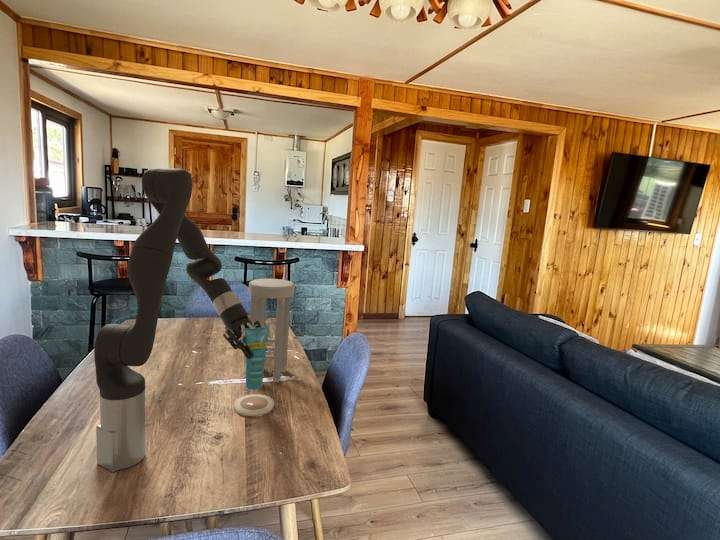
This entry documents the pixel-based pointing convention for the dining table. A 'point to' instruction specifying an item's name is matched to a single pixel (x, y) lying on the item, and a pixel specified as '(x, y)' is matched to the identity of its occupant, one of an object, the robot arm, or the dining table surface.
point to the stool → (283, 293)
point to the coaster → (253, 405)
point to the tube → (256, 356)
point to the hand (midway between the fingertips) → (258, 354)
